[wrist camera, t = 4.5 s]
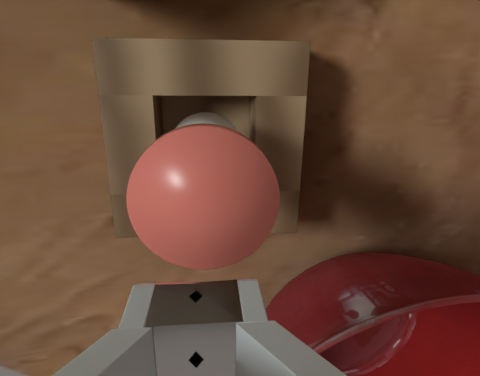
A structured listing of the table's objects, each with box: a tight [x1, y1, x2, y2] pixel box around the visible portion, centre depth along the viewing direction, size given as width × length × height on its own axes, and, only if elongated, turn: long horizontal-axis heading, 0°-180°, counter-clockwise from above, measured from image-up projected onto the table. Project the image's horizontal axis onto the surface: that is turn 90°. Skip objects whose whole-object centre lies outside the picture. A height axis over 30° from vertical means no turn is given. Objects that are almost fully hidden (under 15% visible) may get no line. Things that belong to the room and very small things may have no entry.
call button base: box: [92, 38, 311, 238], centre depth 27 cm, size 14×14×5 cm
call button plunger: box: [126, 112, 280, 270], centre depth 19 cm, size 6×6×10 cm
